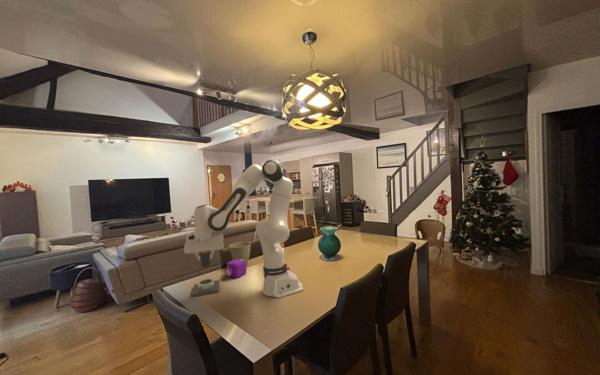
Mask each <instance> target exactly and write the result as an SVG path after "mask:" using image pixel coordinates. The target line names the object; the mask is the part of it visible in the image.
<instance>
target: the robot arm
mask: <svg viewBox="0 0 600 375" xmlns="http://www.w3.org/2000/svg"><path fill="white" fill-rule="evenodd" d="M284 175H285V174H284V171H283V168H282V166H281V164H280V162H278V161H276V160H274V159H269V160H266V161H265V162H264V163H263V164H262V166H261V165H259V164H257V163H256V164H255V163H253V164H251V165H250V166H248V168H246V169H245V171H243V172H242V173H241V175H240V176H239V177H238V179H237V181H236V182H235V184H234V186H233V189H232V192H231V194H230V196H229V197H228V198H227V200H226V201H225V202H224V204H222V206H221V207H220V208H216V207H213V206H211V205H210V204H202V205H199V206H197V207H195V209H194V211H193V212H194V213H193V214H194V216H193V217H194V218H193V222H194V231H193V232H190V233H188V234H187V235H186V236H185V239H186V240H185V242H184V247H183V248H184V249H183V252H184V253H185V254H186V255H187V254H188V255H189V254H194V255H195V257H196V258H197V261H201V259H200V255H199V253H200V252H205V251H209V252H211V254H210V260H212V259H213V255H214V254H215V251H219V250H223V249H224V246H225V245H224V239H225V238H224V237H225V236H224V233H222V231H223V230H225V229H227V227H228V224H229V220H230V217H231V216H232V214H233V213H234V211H235V210H236V209H237V207H238V206H239V205H240V204H241V203H242V202H243V201H244V200H246V198H248V197H249V196H250V195H251V194H252V193H253V192H254V191H255V190H256V189H257V188H258V187H259V185H260V184H261V183H262V182H265V183H267V184H271V185H273V190H272V193H271V196H270V200H269V203H268V207H267V209H268V211H269V219H268V218H265V219H262V220H259V221H258V222H257V224H256V225H255V231H256V232H255V233H256V234H257V235H258V236H257V237H258V238H259V241H260V242H259V243H260V245H261V246H260V247H261V249H262V250H261V251H262V255H263V257H262V258H263V266H262V267H263V269H262V272H263V273H262V274H263V285H262V286H263V288H262V294H263V295H264V296H267V297H274V298H276V299H280V298H284V297H287V296H289V295H293V294H297V293H300V292H303V291H304V285H303V283H302V282H301V281H300V280H299V278H298V276H297V275H296V274H295V273H294V272H292V271H290V269H291V266H289V265H288V264H286V263H285V260H284V259H285V258H284V249H283V247H282V245H281V243H285V242H286V241H288V239H289V237H290V232H291V231H290V228H289V225H288V212H289V209H290V208H289V207H290V204H291V200H292V196H293V189H294V182H293V181H292V180H291V179H290V178H288V177H285V176H284Z"/></svg>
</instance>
